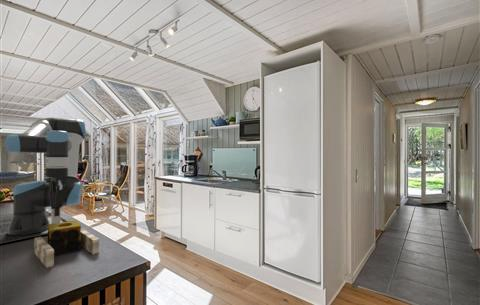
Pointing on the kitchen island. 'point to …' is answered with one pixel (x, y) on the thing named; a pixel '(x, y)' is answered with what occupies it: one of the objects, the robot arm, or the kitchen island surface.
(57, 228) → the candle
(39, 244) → the rail
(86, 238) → the rail
